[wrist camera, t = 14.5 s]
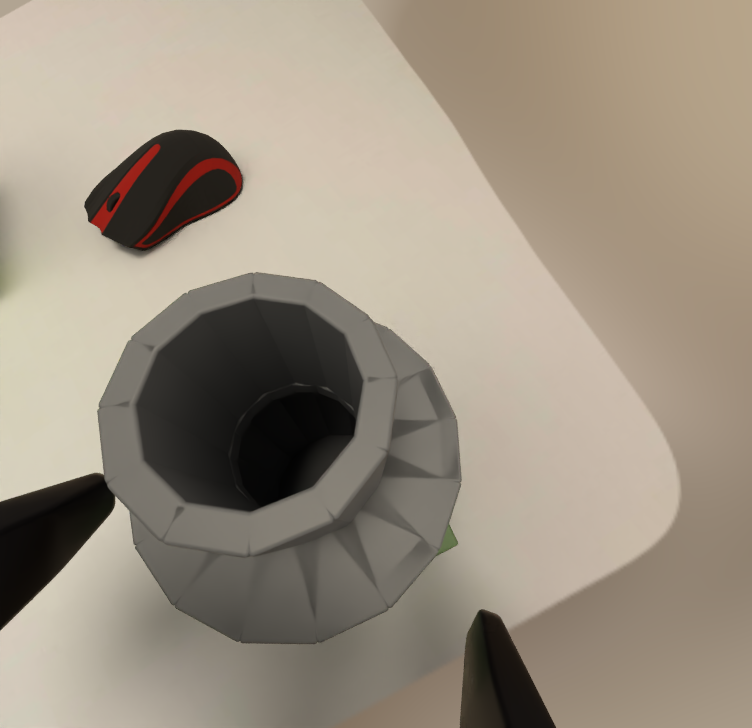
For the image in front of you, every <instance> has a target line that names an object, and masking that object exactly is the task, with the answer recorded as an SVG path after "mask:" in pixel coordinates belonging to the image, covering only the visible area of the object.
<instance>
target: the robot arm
mask: <svg viewBox="0 0 752 728" xmlns="http://www.w3.org/2000/svg"><path fill="white" fill-rule="evenodd" d="M107 485H108V484H107V483H106V481H105V478H104V474H101V473H93V474H89V475H86V476H83V477H80V478H76V479H73V480H70V481H66V482H63V483H60V484H57V485H53V486H50V487H47V488H44V489H40V490H37V491H34V492H31V493H27V494H24V495H21V496H18V497H14V498H11V499H8V500H5V501H1V502H0V630H1V629H3V628H4V627H5V626H6V625H7V624H8V623H9V622H10V621H11V620H12V619H13V618H14V617H15V616H16V615H17V614H18V613H19V612H20V611H21V610H22V609H23V608H24V607H25V606H26V605H27V604H28V603H29V602H30V601H31V600H32V599H33V598H34V597H35V596H36V595H37V594H38V593H39V592H40V591H41V590H42V589H43V588H44V587H45V586H46V585H47V584H48V583H49V582H50V581H51V580H52V579H53V578H54V577H55V576H56V575H57V574H58V573H59V572H60V571H61V570H62V569H63V568H64V567H65V565H66V564H67V563H68V562H69V561H70V560H71V559H72V558H73V556H74V555H75V554H76V553H77V552H78V551H79V550H80V548H81V547H82V546H83V545H84V544H85V543H86V541H87V540H88V539H89V538H90V537H91V536H92V535H93V533H94V532H95V531H96V530H97V529H98V528H99V526H100V525H101V524H102V523H103V522H104V521H105V520H106V518H107V517H108V516H109V515H110V514H111V512H112V511H113V509H114V506H115V495H114V494H113V493H112V491H111V490H110V489H109V488H108V486H107ZM460 728H556V727H555V725H554V723H553V721H552V719H551V717H550V715H549V713H548V711H547V709H546V707H545V705H544V703H543V701H542V699H541V697H540V695H539V693H538V691H537V689H536V687H535V685H534V683H533V681H532V679H531V677H530V675H529V673H528V671H527V669H526V667H525V665H524V663H523V661H522V659H521V657H520V655H519V653H518V651H517V649H516V647H515V645H514V643H513V641H512V639H511V637H510V635H509V633H508V631H507V629H506V627H505V625H504V623H503V621H502V619H501V618H500V617H499V616H498V615H497V614H495V613H492V612H489V611H487V610H484V609H481V610H479V612H478V613H477V615H476V617H475V619H474V621H473V623H472V625H471V627H470V629H469V631H468V634H467V637H466V644H465V658H464V673H463V687H462V702H461V716H460Z"/></svg>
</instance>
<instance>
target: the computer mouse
mask: <svg viewBox="0 0 752 728" xmlns="http://www.w3.org/2000/svg"><path fill="white" fill-rule="evenodd" d="M241 186H242V175H241V172H240V169H239V167H238V166H237V164H236V162H235V160H234V159H233V158H232V156H231V155H230V154H229V152H228V151H227V150H226V149H225V148H224V147H223V146H222V145H221V144H220V143H219V142H217V141H216V140H214V139H213V138H211V137H210V136H208V135H206V134H203V133H200V132H197V131H192V130H174V131H170V132H165V133H162V134H160V135H158V136H156V137H154V138H152V139H151V140H150V141H148V142H147V143H145V144H144V145H142V146H141V147H140V148H139V149H137V150H136V151H135V152H134V153H133V154H131V155H130V156H129V157H128V158H127V159H126V160H125V161H123V162H122V163H121V164H120V165H119V166H118V167H117V168H116V169H114V170H113V171H112V172H111V173H110V174H108V175H107V176H106V177H105V178H104V179H103V180H102V181H101V182H100V183H99V184H98V185H97V186H96V187H95V188H94V189H93V191H92V192H91V194H90V195H89V197H88V198H87V200H86V201H85V206H84V207H85V209H86V211H87V213H88V221H89V222H90V223H92V224H94V225H95V226H97V227H98V228H100V230H101V232H102V235H104V236H106V237H108V238H110V239H112V240H114V241H116V242H118V243H120V244H122V245H123V246H126V247H130V248H135V249H140V250H147V249H149V248H151V247H153V246H154V245H156V244H158V243H159V242H161V241H163V240H164V239H166V238H167V237H169V236H170V235H171V234H173V233H174V232H175V231H177V230H178V229H179V228H181V227H182V226H184V225H186V224H188V223H190V222H193V221H195V220H198V219H200V218H203V217H205V216H207V215H209V214H211V213H213V212H215V211H217V210H219V209H221V208H222V207H224V206H226V205H227V204H228V203H230V202H231V201H232V200H233V199H234V198H235V197H236V196H237V195H238V193H239V192H240V189H241Z"/></svg>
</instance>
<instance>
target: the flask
mask: <svg viewBox="0 0 752 728" xmlns="http://www.w3.org/2000/svg"><path fill="white" fill-rule="evenodd" d="M131 339H132V340H129V341H128V343H127V345H126V347H125V349H124V351H123V353H122V355H121V358H120V360H119V362H118V364H117V366H116V368H115V370H114V373H113V375H112V377H111V379H110V381H109V383H108V385H107V388H106V390H105V392H104V394H103V396H102V398H101V400H100V403H99V409H98V411H97V412H98V422H99V431H100V440H101V450H102V459H103V469H104V478H105V481H106V483H107V484H108V485H107V486H108V488H109V489H110V490H111V491H112V493H113V494H114V495H115V496H116V497H117V498H118V499H119V500H120V501H121V502H122V503H123V504H124V505H125V506H126V507H127V508H128V509H129V511H130V519H131V526H132V534H133V542H134V545H136V546H135V549H136V550H137V552H138V553H139V555H140V556H141V558H142V559H143V561H144V562H145V564H146V565H147V567H148V568H149V570H150V572H151V573H152V575H153V576H154V578H155V579H156V581H157V582H158V584H159V585H160V587H161V588H162V590H163V592H164V593H165V595H166V596H167V598H168V599H169V601H170V602H171V604H172V605H175V608H176V609H178V610H180V611H182V612H184V613H185V614H187V615H189V616H191V617H193V618H194V619H196V620H198V621H200V622H202V623H204V624H205V625H207V626H209V627H211V628H213V629H214V630H216V631H218V632H220V633H222V634H224V635H225V636H227V637H229V638H231V639H233V640H235V641H236V642H239V641H240V642H241V643H264V644H316V643H317V642H318V643H321V642H323V641H325V640H327V639H329V638H332V637H334V636H336V635H338V634H340V633H342V632H344V631H346V630H348V629H350V628H352V627H355V626H357V625H359V624H361V623H363V622H365V621H367V620H369V619H371V618H373V617H375V616H378V615H380V614H382V613H384V612H386V611H387V610H388V608H391V607H392V606H393V605H394V604H395V603H396V602H397V601H398V599H399V598H400V597H401V596H402V595H403V594H404V592H405V591H406V590H407V589H408V588H409V587H410V585H411V584H412V583H413V582H414V581H415V580H416V578H417V577H418V576H419V575H420V574H421V572H422V571H423V570H424V569H425V568H426V567H427V565H428V564H429V563H430V562H431V561H432V560H433V558H434V557H435V556H436V555H437V554H438V550H439V549H440V548H441V546H442V543H443V540H444V536H445V533H446V530H447V527H448V524H449V521H450V518H451V515H452V512H453V509H454V505H455V502H456V499H457V496H458V493H459V490H460V487H461V483H460V482H461V466H460V453H459V440H458V427H457V420H456V419H455V418H456V416H455V414H454V412H453V410H452V408H451V406H450V404H449V402H448V400H447V397H446V395H445V393H444V391H443V389H442V387H441V385H440V383H439V381H438V379H437V377H436V375H435V373H434V371H433V369H432V367H431V366H430V365H429V363H427V362H426V361H425V360H424V359H423V358H422V357H421V356H420V355H418V354H417V353H416V352H415V351H414V350H413V349H412V348H411V347H410V346H408V345H407V344H406V343H405V342H404V341H403V340H402V339H401V338H400V337H398V336H397V335H396V334H395V333H394V332H393V331H392V330H391V329H388V328H387V327H385V326H382V325H380V324H377V323H375V322H373V320H372V319H371V318H370V317H369V316H368V315H367V314H366V313H364V312H363V311H361V310H360V309H359V308H357V307H356V306H354V305H353V304H351V303H350V302H349V301H347V300H346V299H344V298H343V297H341V296H340V295H339V294H337V293H336V292H334V291H333V290H331V289H330V288H328V287H327V286H326V285H324V284H323V283H321V282H318V281H316V280H310V279H303V278H295V277H288V276H281V275H273V274H266V273H258V272H256V273H254V274H253V273H248V274H244V275H241V276H238V277H234V278H231V279H227V280H224V281H221V282H217V283H214V284H210V285H207V286H204V287H200V288H197V289H193V290H190V291H189V292H188V294H187V293H185V294H183V295H182V296H180V297H179V298H178V299H177V300H176V301H174V302H173V303H172V304H171V305H170V306H168V307H167V308H166V309H165V310H163V311H162V312H161V313H160V314H159V315H157V316H156V317H155V318H154V319H153V320H151V321H150V322H149V323H148V324H147V325H145V326H144V327H143V328H142V329H140V330H139V331H138V332H137V333H136V334H134V335H133V336H132V338H131Z"/></svg>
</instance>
